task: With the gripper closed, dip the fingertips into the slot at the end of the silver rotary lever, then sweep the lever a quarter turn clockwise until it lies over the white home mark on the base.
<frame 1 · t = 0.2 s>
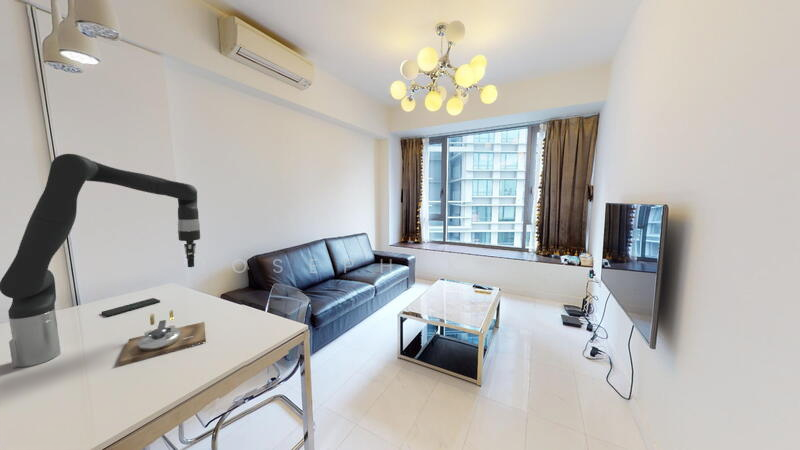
hand: (191, 264, 116), 28 cm above the table, tool pointing down, fingers open, 8 cm apart
silver rotary lever: (160, 329, 103), point 5 cm above the table, hinge at 0.0°
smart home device: (132, 309, 134), on the table
base plate: (167, 342, 103), on the table
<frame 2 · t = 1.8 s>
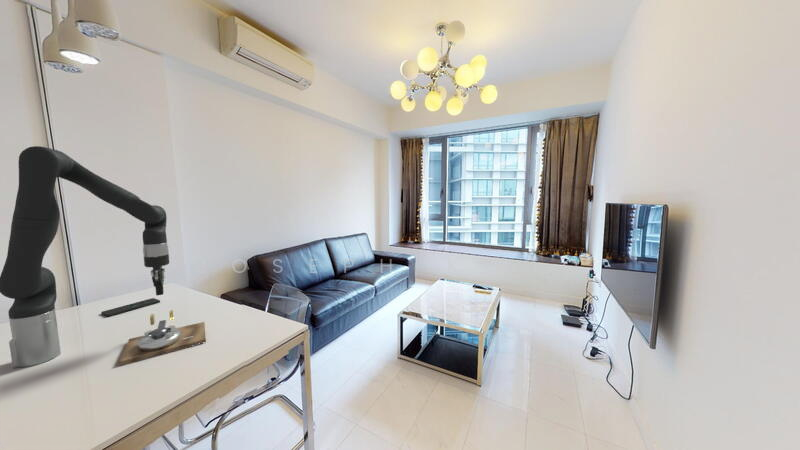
hand: (160, 294, 107), 18 cm above the table, tool pointing down, fingers closed
nothing on the table moved.
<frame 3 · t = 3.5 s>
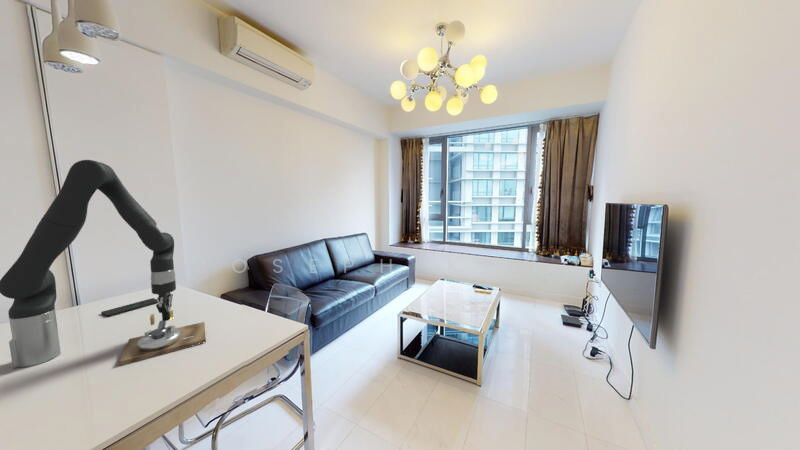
hand: (166, 319, 109), 6 cm above the table, tool pointing down, fingers closed
silver rotary lever: (160, 329, 103), point 5 cm above the table, hinge at -0.1°, touching gripper
everything else where it was.
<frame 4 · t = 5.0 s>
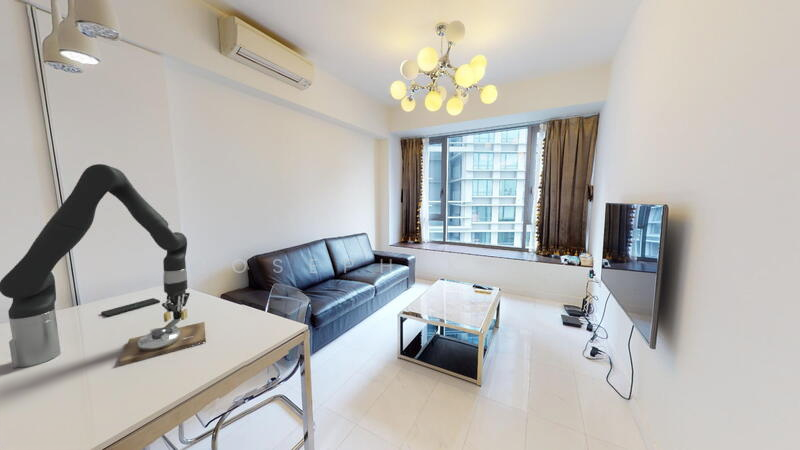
hand: (177, 318, 110), 6 cm above the table, tool pointing down, fingers closed
silver rotary lever: (165, 328, 103), point 5 cm above the table, hinge at -21.4°, touching gripper
everything else where it was.
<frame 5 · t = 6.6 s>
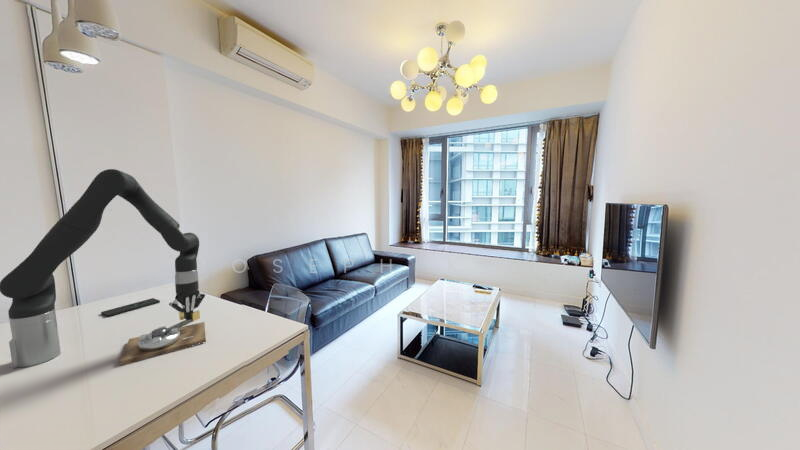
hand: (188, 319, 110), 6 cm above the table, tool pointing down, fingers closed
silver rotary lever: (169, 328, 103), point 5 cm above the table, hinge at -49.2°, touching gripper
everything else where it was.
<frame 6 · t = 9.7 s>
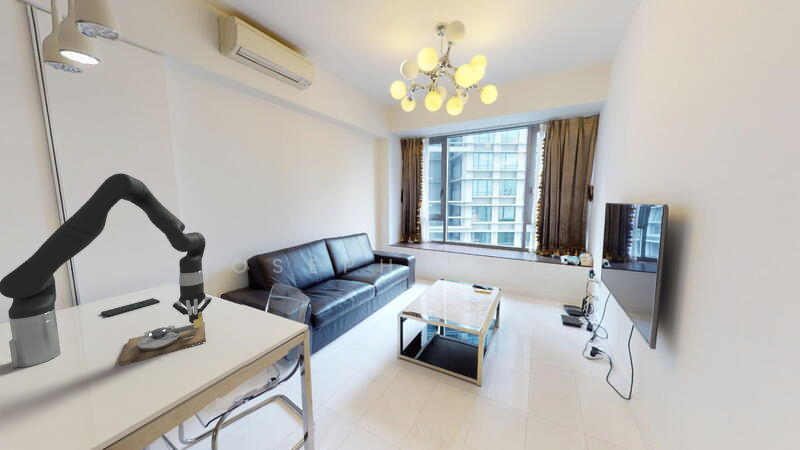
hand: (193, 322, 105), 7 cm above the table, tool pointing down, fingers closed
silver rotary lever: (172, 330, 102), point 5 cm above the table, hinge at -88.8°
everything else where it was.
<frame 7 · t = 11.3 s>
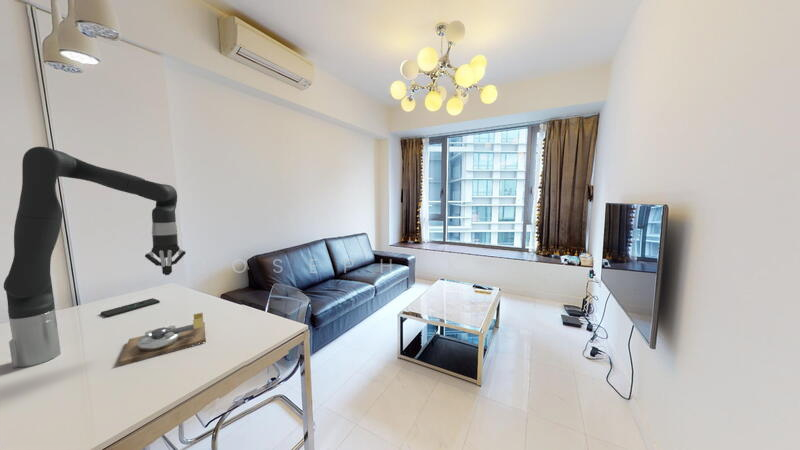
hand: (167, 274, 106), 26 cm above the table, tool pointing down, fingers closed
silver rotary lever: (172, 330, 102), point 5 cm above the table, hinge at -91.1°
everything else where it was.
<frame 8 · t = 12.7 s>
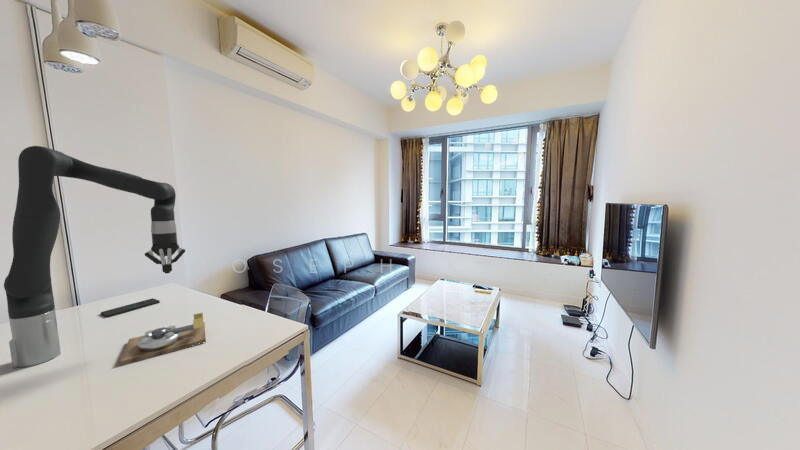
hand: (167, 272, 106), 27 cm above the table, tool pointing down, fingers closed
nothing on the table moved.
at the end: silver rotary lever at -91° (first picture: +0°) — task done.
